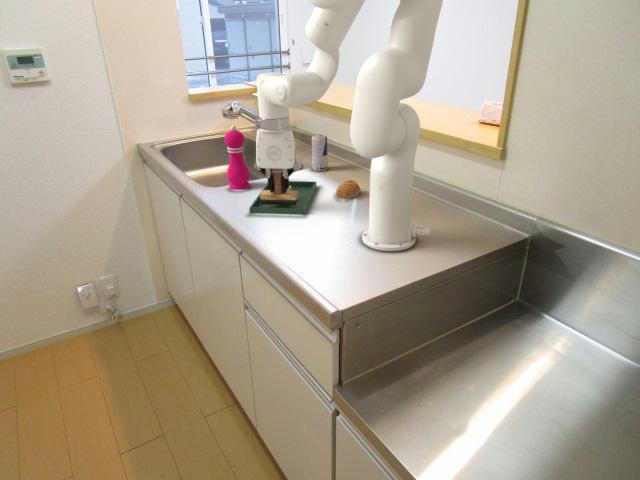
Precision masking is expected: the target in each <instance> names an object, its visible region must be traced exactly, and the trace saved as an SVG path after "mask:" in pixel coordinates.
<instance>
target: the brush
mask: <svg viewBox="0 0 640 480" xmlns="http://www.w3.org/2000/svg"><path fill="white" fill-rule="evenodd" d="M272 174H273V186H274V192H272V193H270V190H263V189H262V190H263V191H262V190H261V191H262V192H261V191H260V193H261V194H260V193H259V194H260V199H261V203H262V204H268V205H296V203H297V201H298V199H297V197H298V191H286V193H283V189H282V179H283V170H282V169H276V170H272Z"/></svg>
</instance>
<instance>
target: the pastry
mask: <svg viewBox="0 0 640 480" xmlns="http://www.w3.org/2000/svg"><path fill="white" fill-rule="evenodd" d="M360 191H361V187H360V185H359V184H358V182H357V181H356V180H353V179H348V180H343V182H341V183H340V184H339V185H338V187H337V188H336V197H337V198H338V199H339V200H348V199H351V198H356V197H357V196H358V195H359V194H360Z"/></svg>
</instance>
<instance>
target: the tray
mask: <svg viewBox="0 0 640 480" xmlns="http://www.w3.org/2000/svg"><path fill="white" fill-rule="evenodd" d="M289 186H291V187H292V191H298V197H297V199H298V201H297V203H296V205H268V204H262V203H261V199H260V194H261V192H262V191H263V190H270V189H268V182H267V183H266V184H265V186H264V187H263V188H262V190H261V191H260V193H259V194H258V195H257V197H256V198H255V199H254V201H253V202H252V203H251V205H250V207H249V214H264V215H265V214H267V215H269V214H270V215H303V216H305V214H306V213H307V210H308V207H309V205H310V203H311V201H312V198H313V196H314V193H315V191H316V189H317V181H309V180H308V181H306V180H305V181H302V180H301V181H300V180H298V181H297V180H289Z"/></svg>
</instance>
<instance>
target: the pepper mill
mask: <svg viewBox="0 0 640 480" xmlns="http://www.w3.org/2000/svg"><path fill="white" fill-rule="evenodd" d="M224 143H225V145H226V146H227V147H226V149H227V153H228V154H229V164H228V168H227V171H226V179H227V180H228V181H229V183H228V184H229V189H231V190H236V191H237V190H238V191H239V190H245V189H248V188H250V182H249V180H250V178H251V173H250V170H249V168H248V166H247V164H246V162H245V159H244V153H243V152H244V151H245V149H244V146H243V145H244V144H245V135H244V134H243V133H242V132H241V131H240V130H237V127H236V125H233V124H232V125H230V130H229V131H228V132H226V133H225V135H224Z"/></svg>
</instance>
